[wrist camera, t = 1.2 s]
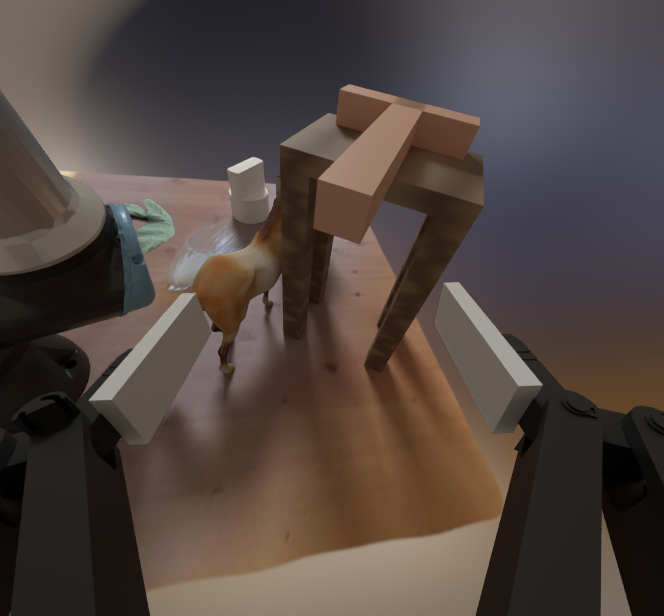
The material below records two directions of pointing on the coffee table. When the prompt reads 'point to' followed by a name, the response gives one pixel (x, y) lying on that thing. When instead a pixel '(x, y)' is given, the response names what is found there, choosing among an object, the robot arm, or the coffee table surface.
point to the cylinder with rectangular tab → (248, 191)
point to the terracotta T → (381, 154)
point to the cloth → (152, 225)
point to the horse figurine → (240, 280)
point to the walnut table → (405, 190)
